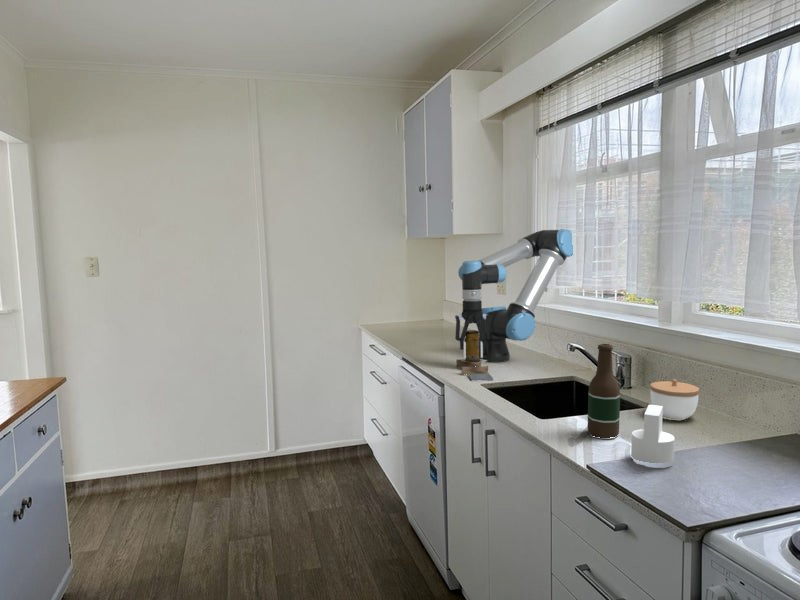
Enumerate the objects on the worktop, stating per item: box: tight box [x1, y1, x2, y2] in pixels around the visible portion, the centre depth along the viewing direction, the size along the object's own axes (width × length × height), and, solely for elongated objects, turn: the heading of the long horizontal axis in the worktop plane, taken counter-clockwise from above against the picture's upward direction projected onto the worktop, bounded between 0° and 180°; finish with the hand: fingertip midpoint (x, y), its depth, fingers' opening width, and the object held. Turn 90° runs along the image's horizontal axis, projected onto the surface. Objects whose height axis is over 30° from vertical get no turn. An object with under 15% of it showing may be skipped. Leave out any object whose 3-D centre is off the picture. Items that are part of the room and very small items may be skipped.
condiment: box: [461, 329, 487, 363], centre depth 221 cm, size 7×8×12 cm
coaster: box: [467, 372, 494, 381], centre depth 209 cm, size 8×8×1 cm
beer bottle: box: [587, 343, 621, 438], centre depth 144 cm, size 8×8×24 cm
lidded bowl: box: [649, 378, 700, 419], centre depth 159 cm, size 13×13×11 cm
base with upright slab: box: [630, 404, 676, 463], centre depth 127 cm, size 9×9×12 cm
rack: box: [456, 358, 489, 376], centre depth 222 cm, size 10×15×3 cm, turn 3°
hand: (472, 357), depth 222 cm, fingers closed on condiment, 6 cm apart
